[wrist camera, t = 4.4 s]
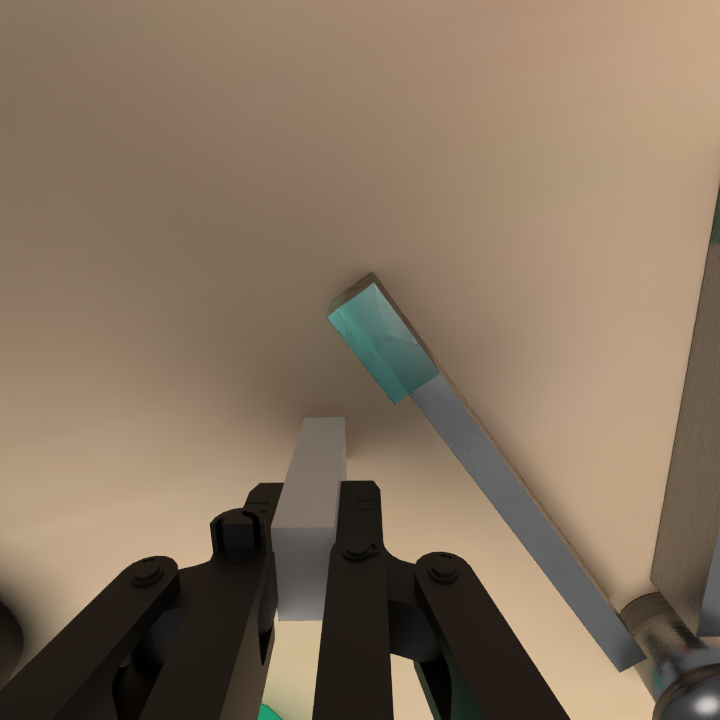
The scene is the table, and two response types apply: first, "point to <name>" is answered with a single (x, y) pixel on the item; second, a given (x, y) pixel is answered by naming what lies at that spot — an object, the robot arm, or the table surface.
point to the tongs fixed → (689, 537)
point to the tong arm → (475, 453)
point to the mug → (9, 644)
